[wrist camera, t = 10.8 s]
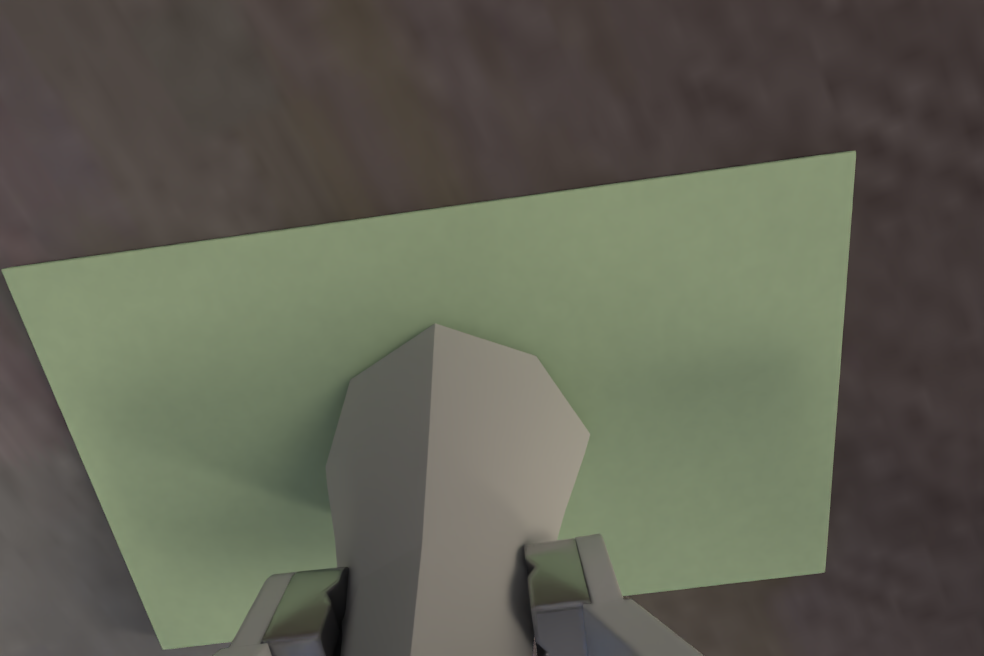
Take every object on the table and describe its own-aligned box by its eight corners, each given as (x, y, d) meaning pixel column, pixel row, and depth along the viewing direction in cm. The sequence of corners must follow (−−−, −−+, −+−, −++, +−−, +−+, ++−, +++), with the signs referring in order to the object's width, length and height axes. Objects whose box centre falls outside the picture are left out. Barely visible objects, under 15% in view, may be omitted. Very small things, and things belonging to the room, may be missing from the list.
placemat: (846, 151, 13) (857, 150, 13) (818, 564, 17) (825, 573, 16) (13, 266, 14) (-1, 269, 13) (169, 640, 17) (162, 650, 17)
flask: (632, 423, 15) (905, 892, 5) (481, 585, 16) (475, 1170, 7) (428, 273, 13) (282, 532, 4) (285, 466, 15) (-67, 986, 5)
